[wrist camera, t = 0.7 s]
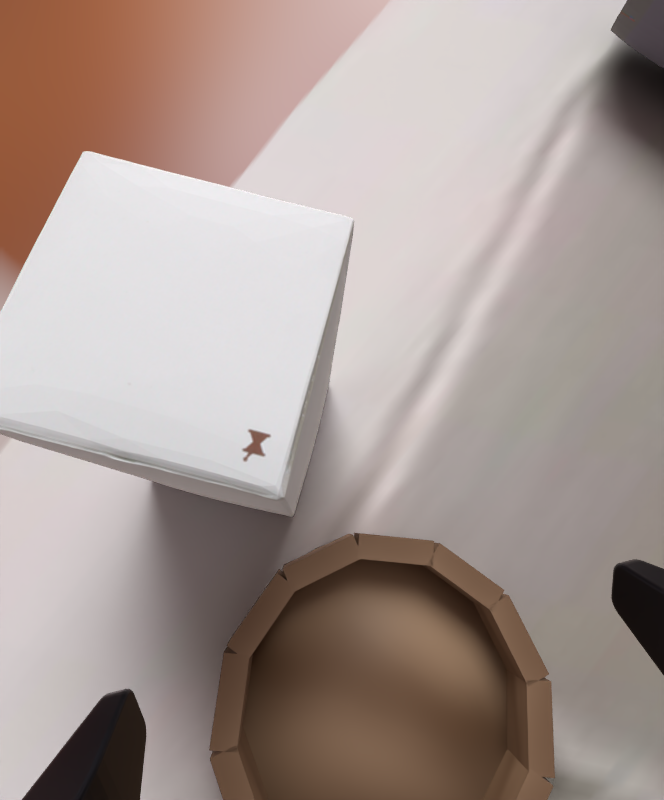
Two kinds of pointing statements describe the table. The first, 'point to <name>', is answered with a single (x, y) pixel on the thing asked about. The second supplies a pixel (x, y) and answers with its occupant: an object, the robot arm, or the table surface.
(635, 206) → the table surface
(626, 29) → the bluetooth speaker
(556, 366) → the table surface
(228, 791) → the brown faceted round ring
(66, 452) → the supplement box
